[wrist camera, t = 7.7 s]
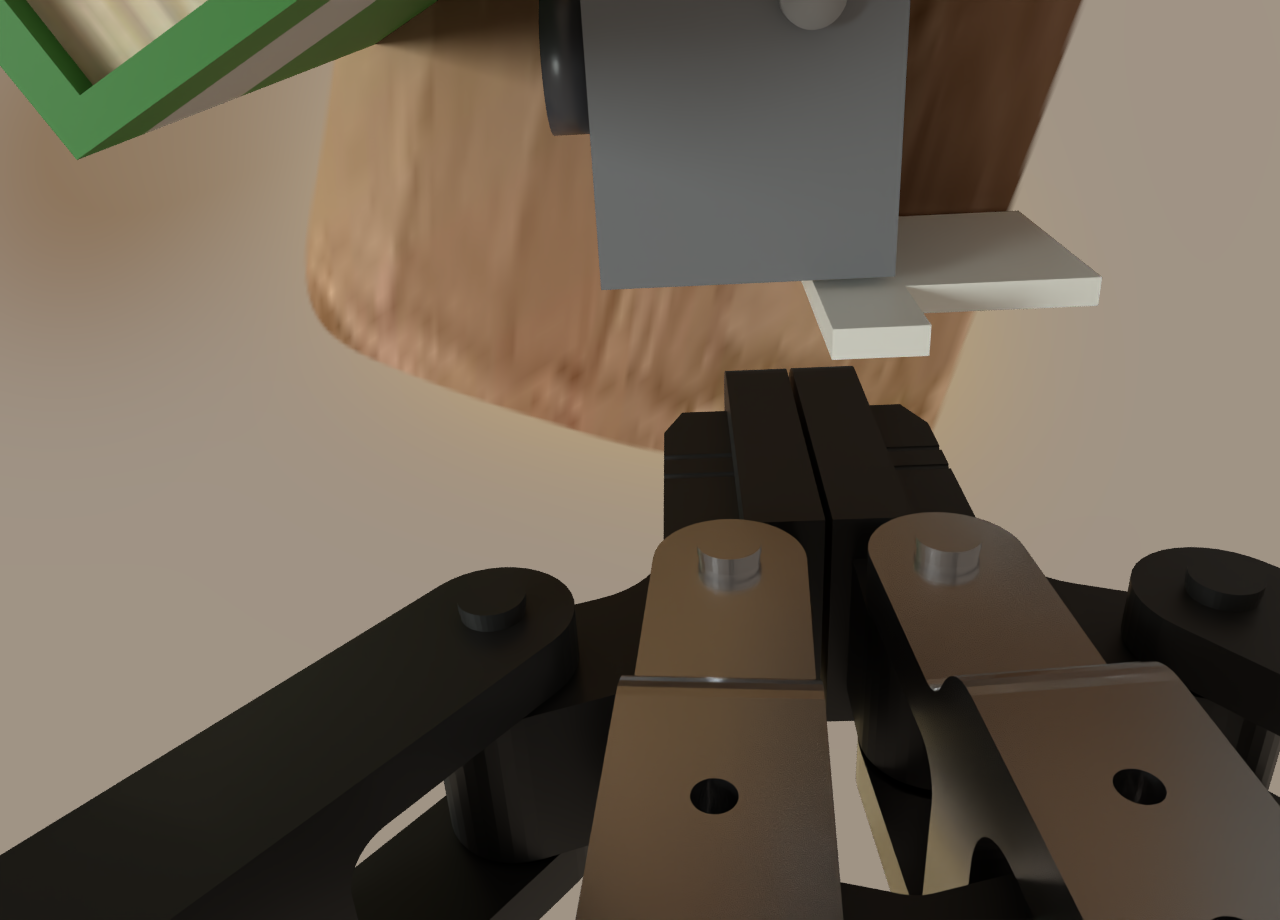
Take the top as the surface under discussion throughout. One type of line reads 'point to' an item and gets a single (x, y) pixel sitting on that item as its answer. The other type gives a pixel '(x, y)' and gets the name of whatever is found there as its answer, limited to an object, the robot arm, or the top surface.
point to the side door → (948, 282)
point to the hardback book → (171, 55)
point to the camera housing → (734, 134)
